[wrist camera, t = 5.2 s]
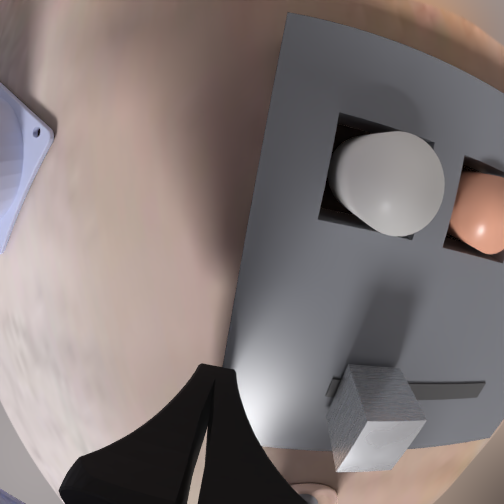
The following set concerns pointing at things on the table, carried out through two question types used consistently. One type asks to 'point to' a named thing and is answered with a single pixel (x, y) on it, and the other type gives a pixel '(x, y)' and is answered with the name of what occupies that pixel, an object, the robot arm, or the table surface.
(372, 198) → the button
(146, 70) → the table surface
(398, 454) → the slider knob
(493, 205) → the middle button
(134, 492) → the robot arm
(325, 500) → the beer glass
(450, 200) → the control panel
